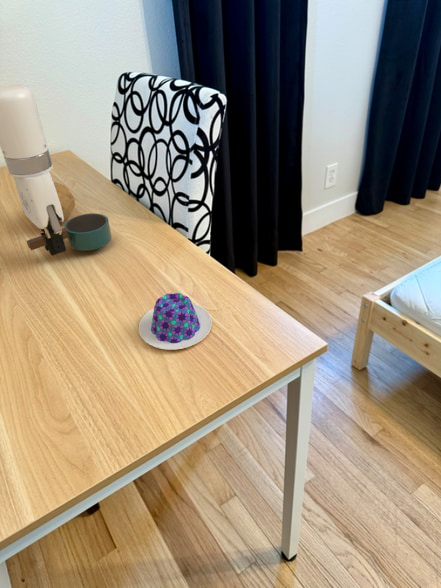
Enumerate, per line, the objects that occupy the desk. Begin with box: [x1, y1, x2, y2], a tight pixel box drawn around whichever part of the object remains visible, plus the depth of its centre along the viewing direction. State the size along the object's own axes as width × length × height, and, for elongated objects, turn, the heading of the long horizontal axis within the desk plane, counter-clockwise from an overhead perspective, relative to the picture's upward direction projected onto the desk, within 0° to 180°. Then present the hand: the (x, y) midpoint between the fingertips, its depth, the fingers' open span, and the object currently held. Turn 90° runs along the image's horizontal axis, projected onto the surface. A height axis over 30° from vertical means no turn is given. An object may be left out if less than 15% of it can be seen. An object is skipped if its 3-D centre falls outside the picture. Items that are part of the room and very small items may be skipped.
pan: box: [26, 212, 113, 252], centre depth 89 cm, size 17×9×4 cm, turn 129°
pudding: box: [138, 292, 213, 351], centre depth 69 cm, size 12×12×5 cm
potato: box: [53, 181, 76, 225], centre depth 101 cm, size 10×14×8 cm
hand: (56, 249), depth 88 cm, fingers closed on pan
